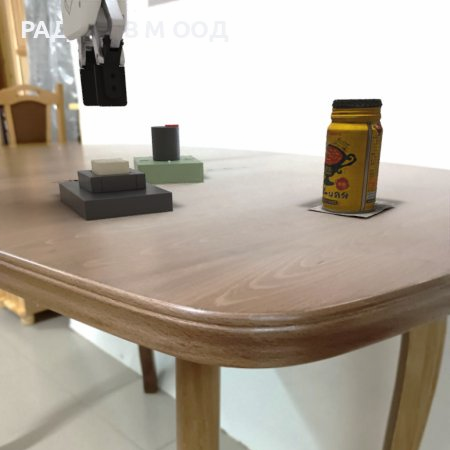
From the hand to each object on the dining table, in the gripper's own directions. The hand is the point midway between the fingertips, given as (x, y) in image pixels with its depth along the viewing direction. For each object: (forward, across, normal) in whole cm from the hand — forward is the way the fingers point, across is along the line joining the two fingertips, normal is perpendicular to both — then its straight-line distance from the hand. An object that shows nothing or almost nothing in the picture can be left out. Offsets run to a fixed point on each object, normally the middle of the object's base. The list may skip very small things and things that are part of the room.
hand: (104, 104), depth 56 cm
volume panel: (+12, -17, +14) cm, 25 cm away
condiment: (+12, +16, +24) cm, 31 cm away
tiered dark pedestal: (+12, 0, 0) cm, 12 cm away
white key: (+8, 0, 0) cm, 8 cm away
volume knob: (+8, -17, +14) cm, 24 cm away
